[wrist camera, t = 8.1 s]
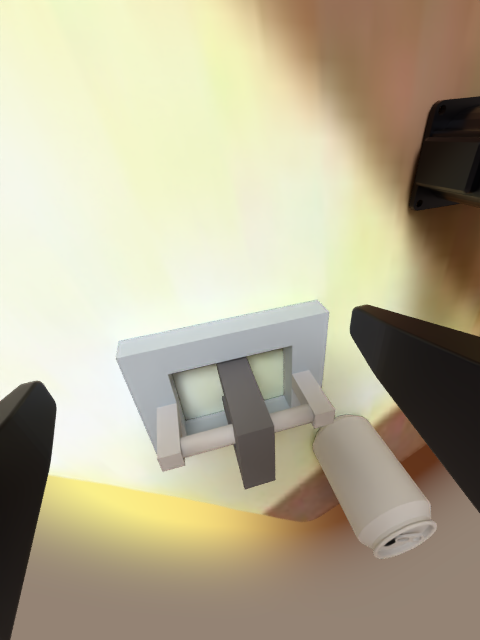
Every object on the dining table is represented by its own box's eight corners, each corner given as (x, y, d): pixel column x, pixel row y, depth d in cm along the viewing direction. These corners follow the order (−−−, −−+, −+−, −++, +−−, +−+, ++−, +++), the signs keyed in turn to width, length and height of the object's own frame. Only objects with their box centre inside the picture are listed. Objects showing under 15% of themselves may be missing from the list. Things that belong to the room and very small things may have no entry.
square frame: (317, 299, 24) (363, 346, 19) (309, 404, 31) (341, 459, 26) (118, 341, 22) (107, 408, 16) (160, 444, 29) (161, 514, 24)
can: (312, 418, 33) (380, 538, 23) (371, 403, 34) (458, 512, 24) (306, 456, 37) (361, 573, 27) (359, 442, 38) (429, 548, 29)
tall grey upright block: (242, 348, 24) (274, 426, 18) (247, 401, 28) (275, 480, 22) (214, 354, 24) (237, 436, 18) (223, 407, 28) (244, 489, 22)
